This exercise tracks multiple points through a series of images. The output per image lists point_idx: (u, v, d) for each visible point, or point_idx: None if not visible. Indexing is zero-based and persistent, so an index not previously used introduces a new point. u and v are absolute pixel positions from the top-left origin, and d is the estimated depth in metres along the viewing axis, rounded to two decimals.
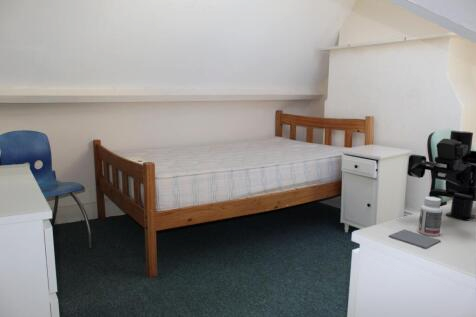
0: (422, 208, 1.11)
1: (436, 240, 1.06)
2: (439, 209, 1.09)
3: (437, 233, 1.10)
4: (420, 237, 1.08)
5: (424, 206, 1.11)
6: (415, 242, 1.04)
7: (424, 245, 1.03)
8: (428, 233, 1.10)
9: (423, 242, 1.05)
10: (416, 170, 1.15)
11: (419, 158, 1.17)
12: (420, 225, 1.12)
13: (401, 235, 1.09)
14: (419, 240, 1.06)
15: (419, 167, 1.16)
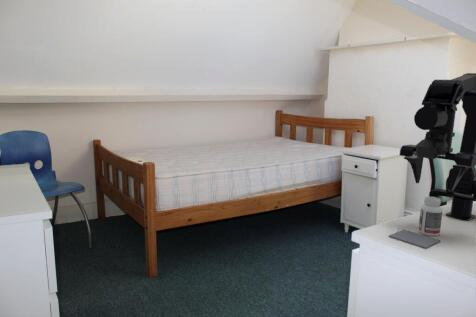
0: (422, 208, 1.11)
1: (436, 240, 1.06)
2: (439, 209, 1.09)
3: (437, 233, 1.10)
4: (420, 237, 1.08)
5: (424, 206, 1.11)
6: (415, 242, 1.04)
7: (424, 245, 1.03)
8: (428, 233, 1.10)
9: (423, 242, 1.05)
10: (419, 172, 1.14)
11: (411, 160, 1.12)
12: (420, 225, 1.12)
13: (401, 235, 1.09)
14: (419, 240, 1.06)
15: (417, 164, 1.13)
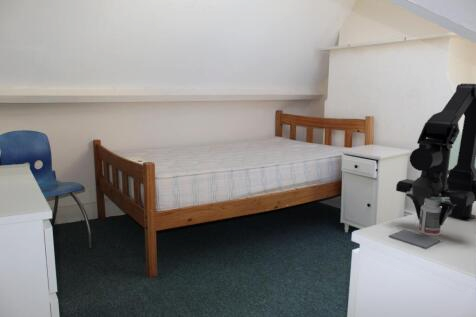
0: (422, 208, 1.11)
1: (436, 240, 1.06)
2: (439, 209, 1.09)
3: (437, 233, 1.10)
4: (420, 237, 1.08)
5: (424, 206, 1.11)
6: (415, 242, 1.04)
7: (424, 245, 1.03)
8: (428, 233, 1.10)
9: (423, 242, 1.05)
10: None
11: (413, 197, 1.13)
12: (420, 225, 1.12)
13: (401, 235, 1.09)
14: (419, 240, 1.06)
15: (420, 201, 1.14)
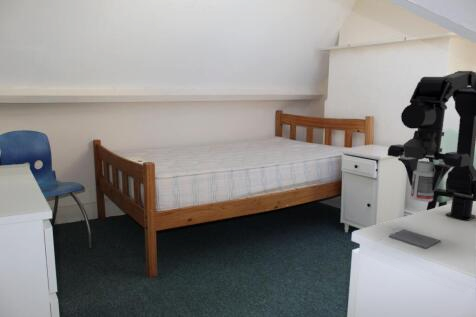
0: (414, 172, 1.05)
1: (436, 240, 1.06)
2: (432, 173, 1.03)
3: (430, 198, 1.04)
4: (420, 237, 1.08)
5: (417, 170, 1.05)
6: (415, 242, 1.04)
7: (424, 245, 1.03)
8: (420, 198, 1.04)
9: (423, 242, 1.05)
10: None
11: (405, 161, 1.06)
12: (412, 190, 1.06)
13: (401, 235, 1.09)
14: (419, 240, 1.06)
15: (412, 165, 1.08)
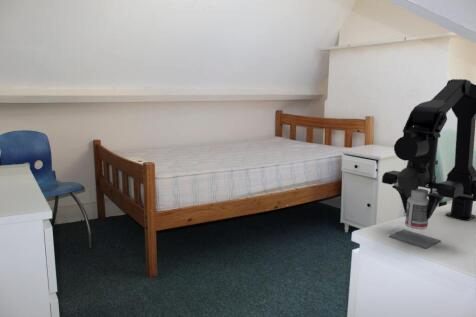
0: (409, 200, 1.06)
1: (436, 240, 1.06)
2: (426, 201, 1.04)
3: (424, 227, 1.05)
4: (420, 237, 1.08)
5: (411, 198, 1.06)
6: (415, 242, 1.04)
7: (424, 245, 1.03)
8: (415, 227, 1.05)
9: (423, 242, 1.05)
10: None
11: (399, 189, 1.07)
12: (407, 218, 1.07)
13: (401, 235, 1.09)
14: (419, 240, 1.06)
15: (407, 193, 1.08)
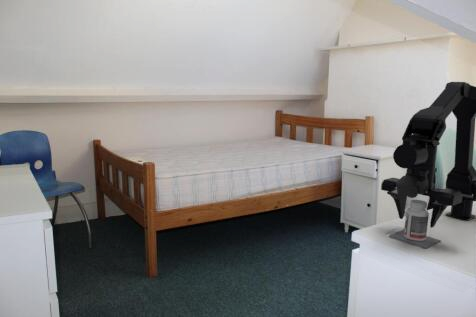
0: (407, 212, 1.06)
1: (436, 240, 1.06)
2: (425, 213, 1.04)
3: (423, 238, 1.05)
4: None
5: (409, 209, 1.06)
6: (415, 242, 1.04)
7: (424, 245, 1.03)
8: (413, 238, 1.05)
9: (423, 242, 1.05)
10: (402, 207, 1.10)
11: (394, 195, 1.08)
12: (405, 229, 1.07)
13: (401, 235, 1.09)
14: None
15: (401, 199, 1.09)
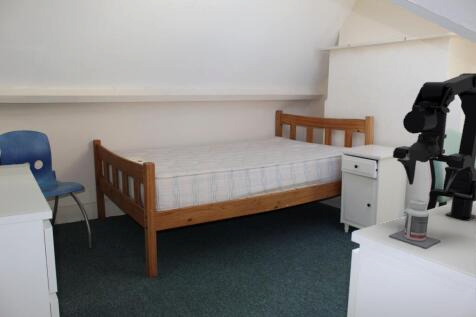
0: (407, 212, 1.06)
1: (436, 240, 1.06)
2: (425, 213, 1.04)
3: (423, 238, 1.05)
4: None
5: (409, 210, 1.06)
6: (415, 242, 1.04)
7: (424, 245, 1.03)
8: (413, 238, 1.05)
9: (423, 242, 1.05)
10: (412, 173, 1.15)
11: (404, 162, 1.13)
12: (405, 229, 1.07)
13: (401, 235, 1.09)
14: None
15: (411, 165, 1.14)
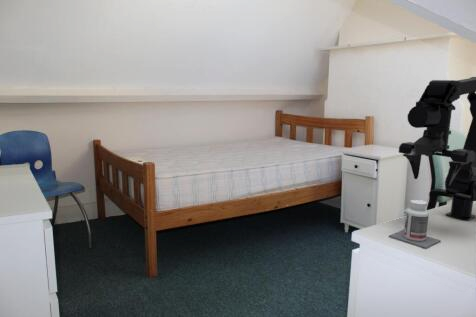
0: (407, 212, 1.06)
1: (436, 240, 1.06)
2: (425, 213, 1.04)
3: (423, 238, 1.05)
4: None
5: (409, 210, 1.06)
6: (415, 242, 1.04)
7: (424, 245, 1.03)
8: (413, 238, 1.05)
9: (423, 242, 1.05)
10: (417, 168, 1.19)
11: (409, 157, 1.17)
12: (405, 229, 1.07)
13: (401, 235, 1.09)
14: None
15: (416, 160, 1.19)
